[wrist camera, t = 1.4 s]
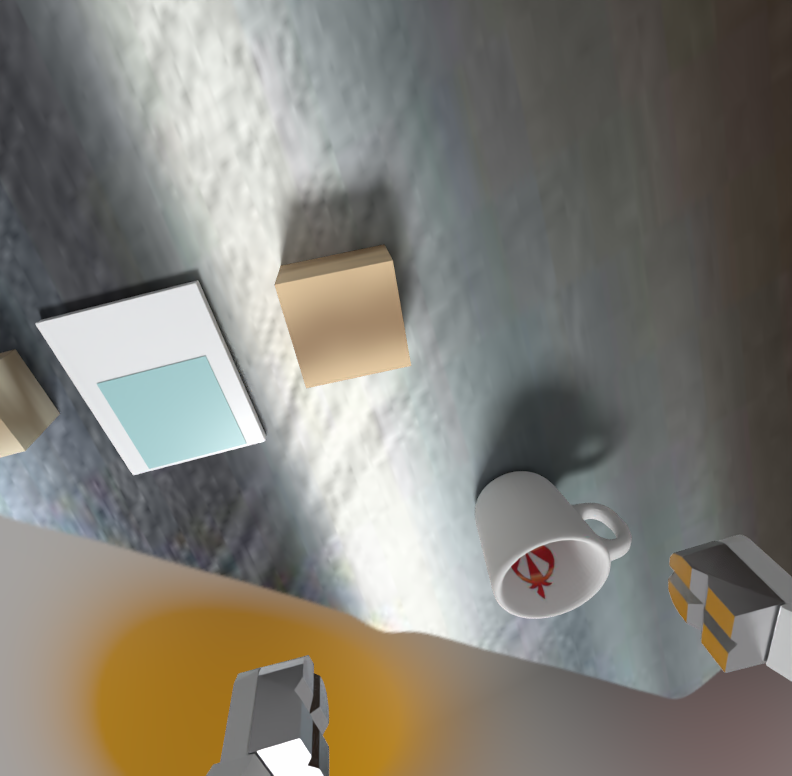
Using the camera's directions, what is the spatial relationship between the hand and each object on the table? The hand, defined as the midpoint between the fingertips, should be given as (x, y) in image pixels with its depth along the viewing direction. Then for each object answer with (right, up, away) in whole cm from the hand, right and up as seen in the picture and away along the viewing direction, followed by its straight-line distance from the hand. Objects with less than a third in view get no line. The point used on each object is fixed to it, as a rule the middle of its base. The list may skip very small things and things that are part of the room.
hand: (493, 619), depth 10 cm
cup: (+8, -3, +28) cm, 29 cm away
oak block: (-5, +10, +18) cm, 21 cm away
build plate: (-16, +5, +19) cm, 25 cm away
